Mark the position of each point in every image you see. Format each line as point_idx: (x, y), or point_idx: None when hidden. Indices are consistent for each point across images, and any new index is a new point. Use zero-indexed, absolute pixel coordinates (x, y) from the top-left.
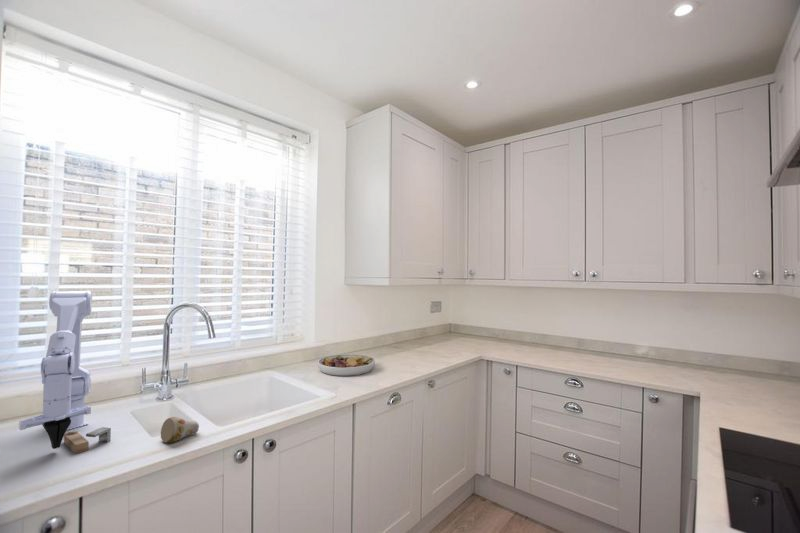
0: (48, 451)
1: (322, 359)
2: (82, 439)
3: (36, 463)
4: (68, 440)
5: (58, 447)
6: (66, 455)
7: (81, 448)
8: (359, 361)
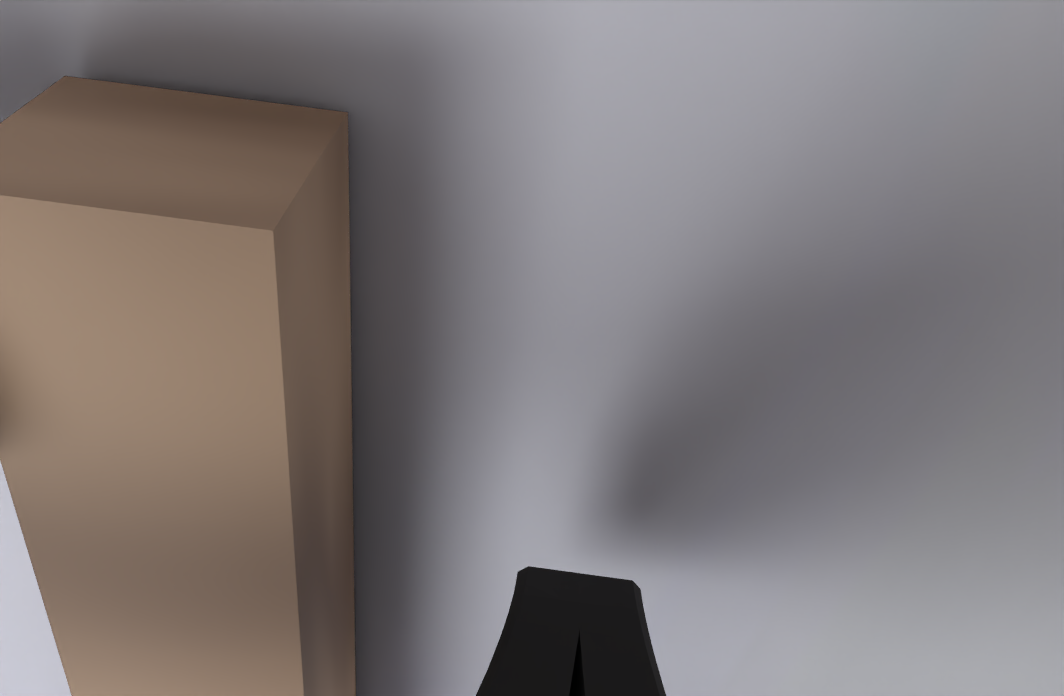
0: None
1: None
2: (65, 467)
3: (1008, 372)
4: (318, 691)
5: (552, 571)
6: (495, 252)
7: (179, 141)
8: None
